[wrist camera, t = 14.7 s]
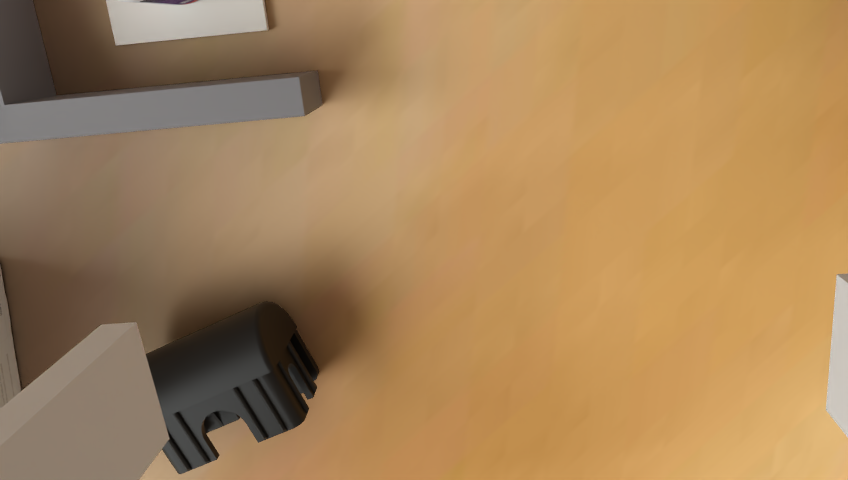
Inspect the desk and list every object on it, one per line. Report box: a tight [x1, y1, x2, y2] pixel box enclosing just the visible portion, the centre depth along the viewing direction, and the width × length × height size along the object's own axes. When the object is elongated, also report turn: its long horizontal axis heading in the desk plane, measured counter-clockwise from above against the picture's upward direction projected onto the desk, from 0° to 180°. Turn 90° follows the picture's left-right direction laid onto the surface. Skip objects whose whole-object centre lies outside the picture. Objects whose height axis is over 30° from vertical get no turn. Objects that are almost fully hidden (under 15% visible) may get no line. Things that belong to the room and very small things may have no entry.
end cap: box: [146, 301, 319, 474], centre depth 43 cm, size 10×7×7 cm
